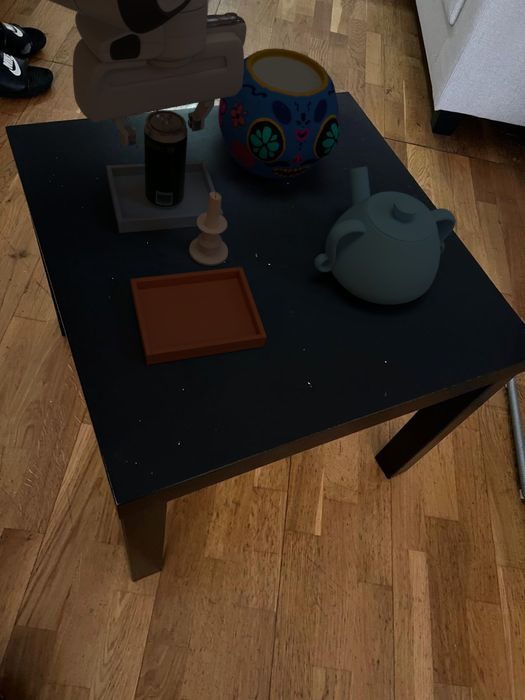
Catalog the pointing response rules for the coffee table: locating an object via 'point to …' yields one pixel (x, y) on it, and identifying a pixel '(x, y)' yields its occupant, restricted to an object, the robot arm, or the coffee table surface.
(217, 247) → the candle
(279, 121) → the ceramic pot
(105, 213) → the coffee table surface
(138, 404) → the coffee table surface
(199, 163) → the gray tray
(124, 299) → the coffee table surface
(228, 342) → the terracotta tray
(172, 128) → the beer can
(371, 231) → the teapot
